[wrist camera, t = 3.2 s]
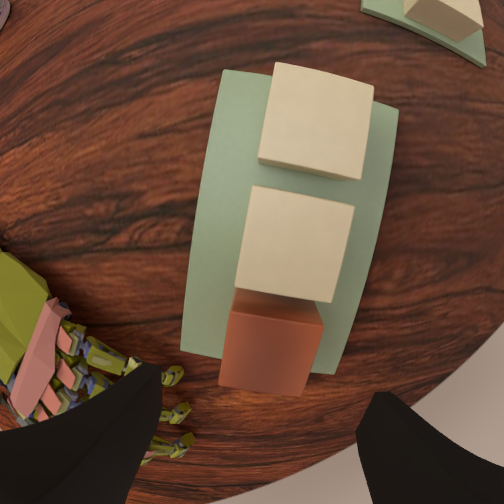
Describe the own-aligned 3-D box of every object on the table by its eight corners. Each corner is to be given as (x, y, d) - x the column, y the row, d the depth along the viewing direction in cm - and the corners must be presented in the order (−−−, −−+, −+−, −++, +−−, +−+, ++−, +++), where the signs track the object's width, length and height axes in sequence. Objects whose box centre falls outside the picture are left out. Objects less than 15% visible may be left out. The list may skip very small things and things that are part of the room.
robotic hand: (-35, 158, 12) (226, 457, 11) (22, 179, 20) (240, 394, 18) (-76, 282, 12) (119, 532, 11) (-23, 280, 20) (151, 477, 18)
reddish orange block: (314, 299, 15) (325, 325, 12) (295, 363, 16) (301, 397, 13) (235, 285, 15) (229, 310, 12) (224, 352, 16) (217, 385, 13)
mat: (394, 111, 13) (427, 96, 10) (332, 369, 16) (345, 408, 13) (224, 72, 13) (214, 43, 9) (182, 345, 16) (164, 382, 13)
